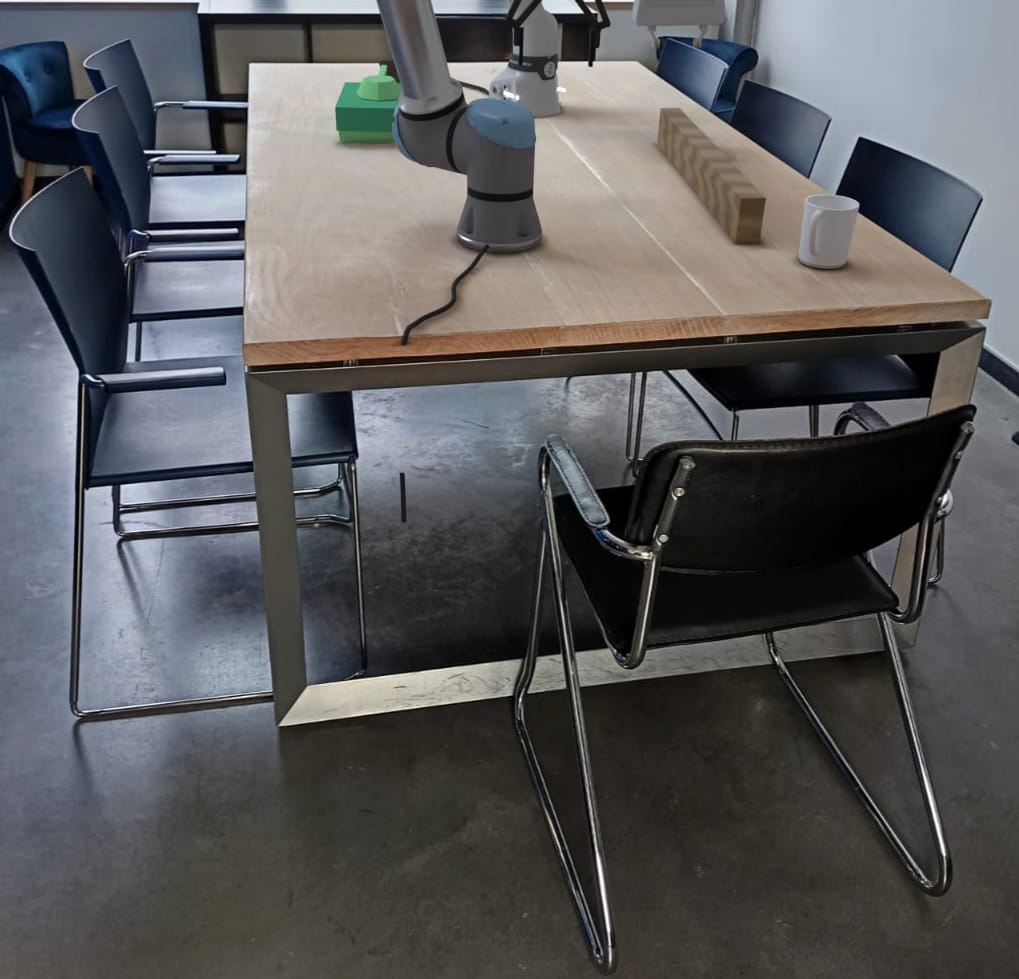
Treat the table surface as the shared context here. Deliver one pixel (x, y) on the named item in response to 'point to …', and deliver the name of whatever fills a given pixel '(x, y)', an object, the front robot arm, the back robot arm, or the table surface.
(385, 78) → the green tank
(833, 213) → the mug
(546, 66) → the back robot arm
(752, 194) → the beam
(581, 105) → the table surface
